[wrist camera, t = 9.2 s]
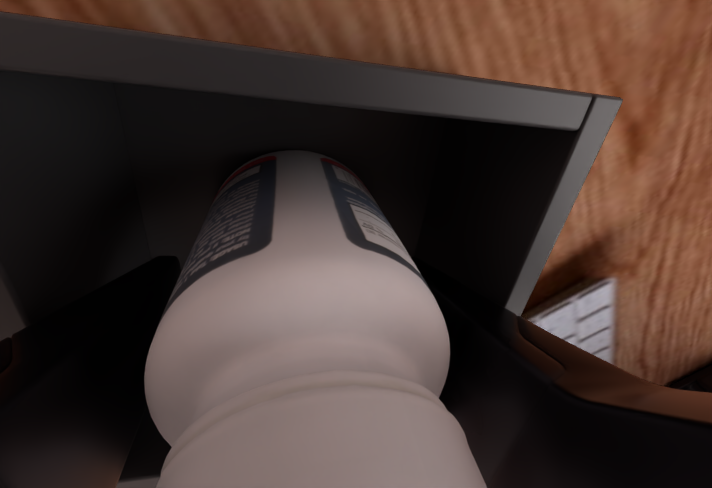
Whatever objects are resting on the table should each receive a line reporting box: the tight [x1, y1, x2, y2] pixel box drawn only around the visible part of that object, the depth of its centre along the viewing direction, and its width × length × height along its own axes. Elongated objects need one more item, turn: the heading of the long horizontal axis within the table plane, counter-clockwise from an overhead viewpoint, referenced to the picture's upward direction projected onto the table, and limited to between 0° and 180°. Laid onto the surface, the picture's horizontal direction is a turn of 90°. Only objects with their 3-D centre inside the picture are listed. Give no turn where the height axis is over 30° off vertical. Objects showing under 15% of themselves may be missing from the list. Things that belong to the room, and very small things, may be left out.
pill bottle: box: [144, 150, 487, 488], centre depth 7 cm, size 5×5×9 cm
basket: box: [0, 11, 623, 488], centre depth 9 cm, size 10×10×6 cm
